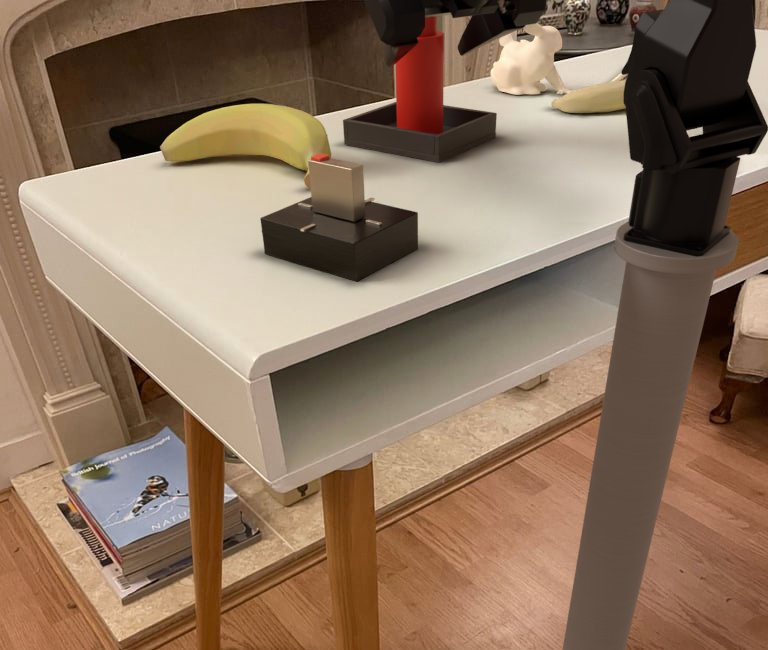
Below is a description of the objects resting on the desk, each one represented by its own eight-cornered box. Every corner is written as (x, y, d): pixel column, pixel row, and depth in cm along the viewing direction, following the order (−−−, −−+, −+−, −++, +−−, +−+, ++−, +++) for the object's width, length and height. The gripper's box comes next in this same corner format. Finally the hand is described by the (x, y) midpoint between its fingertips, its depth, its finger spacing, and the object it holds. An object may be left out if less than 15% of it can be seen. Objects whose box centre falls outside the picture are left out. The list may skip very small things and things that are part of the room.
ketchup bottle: (451, 133, 91) (454, -13, 82) (425, 144, 88) (424, -7, 79) (415, 127, 93) (414, -16, 84) (387, 137, 90) (383, -9, 81)
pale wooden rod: (635, 68, 117) (636, 63, 116) (603, 97, 104) (603, 91, 103) (630, 68, 117) (631, 63, 116) (596, 96, 104) (597, 91, 104)
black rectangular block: (421, 247, 66) (420, 208, 64) (353, 283, 61) (351, 242, 59) (330, 223, 71) (328, 187, 69) (261, 255, 66) (256, 217, 64)
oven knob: (365, 217, 63) (363, 161, 61) (354, 222, 63) (351, 165, 60) (323, 206, 66) (319, 152, 63) (312, 211, 65) (307, 156, 62)
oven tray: (495, 137, 91) (496, 112, 89) (438, 162, 84) (439, 136, 83) (403, 122, 97) (403, 99, 96) (344, 144, 91) (342, 119, 89)
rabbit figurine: (576, 93, 106) (585, 8, 100) (543, 104, 102) (550, 16, 96) (504, 82, 113) (508, 1, 106) (470, 92, 108) (472, 9, 102)
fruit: (682, 103, 100) (687, 74, 98) (584, 121, 95) (588, 90, 93) (643, 93, 105) (647, 64, 103) (549, 109, 100) (551, 79, 98)
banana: (252, 71, 88) (357, 129, 77) (266, 120, 92) (367, 181, 81) (146, 127, 85) (240, 196, 74) (166, 174, 89) (258, 246, 78)
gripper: (540, -152, 74) (467, -20, 88) (365, -144, 67) (317, -3, 81) (586, -43, 74) (506, 71, 88) (415, -24, 67) (358, 96, 81)
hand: (424, 57), depth 85 cm, fingers open, 9 cm apart
